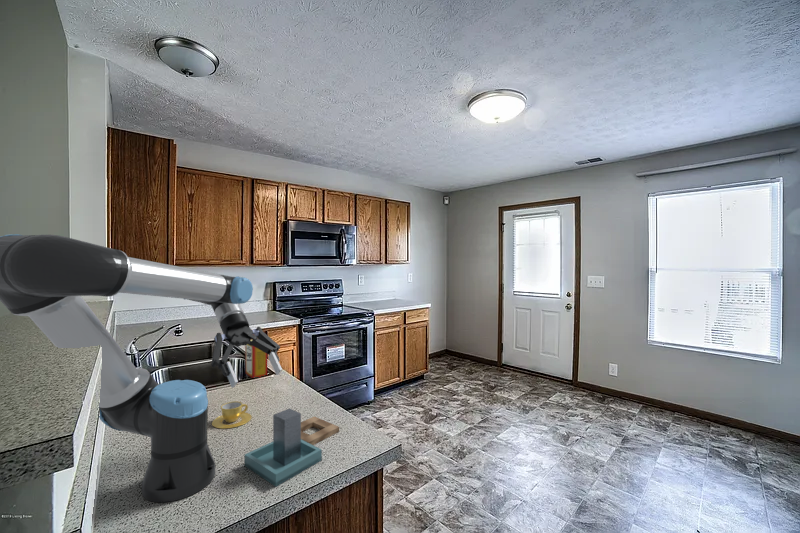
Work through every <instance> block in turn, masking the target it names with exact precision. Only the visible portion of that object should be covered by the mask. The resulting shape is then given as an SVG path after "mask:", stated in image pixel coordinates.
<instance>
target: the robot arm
mask: <svg viewBox="0 0 800 533" xmlns="http://www.w3.org/2000/svg"><path fill="white" fill-rule="evenodd" d="M253 291H254V287H253V283H252V282H251V280H250V279H249V278H247V277H243V276H242V277H241V276H232V275H231V276H229V275H224V274H219V273H215V272H209V271H204V270H199V269H194V268H188V267H182V266H177V265H172V264H167V263H162V262H156V261H151V260H147V259H141V258H135V257H131V256H128V255H127V253H126V252H124V251H122V250H121V249H115V248H111V247H108V246H104V245H103V246H102V245H99V244H95V243H91V242H88V241H83V240H80V239H75V238H72V237H67V236H63V235H57V234H15V233H13V234H11V233H10V234H5V235H1V236H0V302H1V304H3V306H5V308H6V309H7V310H8V311H9V312H10V313H11V314H12V315H14V316H20V317H29V319H30V320H31V322H33V323H34V324H35V326H36V327H38V329H39V330H40V331H41V333H43V335H44V336H45V337H47V339H48V340H49V341H50V342H51V343H52V344H53V345H54V347H55V348H56V347H58V348H81V347H90V346H98V345H101V347H102V370H101V389H100V403H99V407H98V408H100V416H98V418H99V420H100V421H101V422H102V423H103V424H104V425H105V426H107V427H109V428H111V429H113V430H115V431H121V432H128V433H132V434H135V435H139V436H144V437H148V438H150V458H149V461H148V465H147V468H146V469H145V470H146V471H145V474H144V475H143V479H142V482H141V495H142V497H143V498H144V499H145V500H147V501H148V502H149V501H150V502H153V503H169V502H174V501H178V500H181V499H185V498H187V497H190V496H193V495H194V494H196V493H198V492H200V491H201V490H203V489H204V488H207V486H208V485H209V484H211V482H213V480H214V479H215V476H216V462H215V459H214V457H213V454H212V451H211V450H210V447H209V444H208V422H209V421H208V417H209V414H208V413H209V412H208V411H209V410H208V409H209V408H208V407H209V400H208V399H209V398H208V392H207V391H208V390H207V389H206V386H205V385H203V384H202V383H201V382H198V381H195V380H191V379H184V380H181V379H175V380H169V381H168V380H167V381H165V382H162V383H158V382H157V380H156V379H155V378H154V377H153V375H152V374H151V373H150V372H149V371H148V369H146V368H142V367H138V368H137V367H136V366H135V365H134V363H133V362H132V360H131V359H130V358H129V357H128V355H127V354H126V353H125V351H124V350H123V349H122V348H121V346H120V344H119V343H117V341H116V340H115V338H114V337H113V336H112V334H111V333H110V332H109V330H108V329H107V328H106V327H105V325H104V324H103V323H102V321H101V320H100V319H99V317H98V316H97V315H96V314H95V312H94V311H93V309H91V307H90V306H89V305H88V303H87V302H86V301H85V299H84V298H83V297H87V296H89V297H90V296H91V297H92V296H93V297H105V298H106V297H113V296H116V295H118V294H119V293H120V294H128V295H129V294H130V295H139V296H140V295H142V296H151V297H160V298H161V297H162V298H173V299H182V300H188V301H191V302H197V303H201V304H204V305H208V306H211V308H212V310H213V313H214V315H215V318H216V319H217V322H218V323H219V327H220V329H221V331H222V332H217V333H216V334H215V336H214V338H213V341H214V349H213V354H212V359H211V363H210V365H211V367H212V368H216V367H217V368H218V370H220V371H221V373H222V375H223V376H224V377H226V378H227V380H228V382H229V384H230V385H229V386H230V387H231V388H235V387H236V385H237V384H238V383H239V381H238V378H237V376H236V373H235V371H234V368H233V366H232V363H231V362H230V361H227V360H228V358H229V357H230V354H231V352H232V350H233V348H234V347H237V348H238V347H241V346H245V345H247V344H248V345H250V346H254V347H256V348H258V349H260V350H261V351H263V352H265V353H267V359H268V360H269V362H270V364H271V367H272V369H273V371H274V373H275V375H276V376H278V375H280V373H281V372H282V371H283V368H282V366H281V364H280V360H281V359H280V357H279V355H278V352H279V351H280V348H281V346H280V345H279V344H278V343H277V342H276V341H274V340H273V339H272V338H271V336H269V335H267V334H266V332H264V331H263V329H262V328H261V326H257V327H256V328H254V329H252V328H251V327H250V325H249V324H250V323H249V321H248V318H247V316H246V315H245V313H244V309H243V308H242V306H241V304H243V305H244V304H245V303H248V302H249V301H250V300H251V298H252V296H253ZM222 333H223V334H222ZM252 339H253V340H252ZM224 340H225V341H226V342H228V343H229V344H228V345H227V348H226V349H225V351H224V354H223V356H222V357H221V356H220V355H221V351H222V345H223V342H224ZM250 340H252V341H250ZM220 357H221V358H220Z"/></svg>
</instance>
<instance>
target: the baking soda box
mask: <svg viewBox="0 0 800 533" xmlns="http://www.w3.org/2000/svg"><path fill="white" fill-rule="evenodd" d="M252 340H253V339H251V340H250V341H252ZM244 346H245V347H244V349H245V350H244V351H245V353H244V355H245V356H244V358H245V359H244V360H245V362H244V363H245V364H244V366H245V375H247V376H248V377H249V378H251V379H252V378H254V377H259V378H262V377H261V376H264V375H267V376H268V354H267V353H265V352H263V351H261V350H260V349H258V348H256V347H254V346H250V345H248V344H247V345H244ZM264 377H265V376H264Z"/></svg>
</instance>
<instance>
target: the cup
mask: <svg viewBox="0 0 800 533" xmlns="http://www.w3.org/2000/svg"><path fill="white" fill-rule="evenodd" d="M243 407H245V408H244V409H243ZM248 409H249V408H248V404H246V403H243V402H241V401H229V402H225V403H223V404H222V405H220V412H221V415H219V416H218V417H216V418H215V419H213V420H212V422H211V425H212V426H213V428H217V429H223V430H224V429H225V430H226V429H232V428H233V429H234V428H236V427H240V426H243V425H245V424H247V423H249V422H250V421H251V419H252V418H253V417H252V414H250V413H249V412H247V411H248ZM239 418H241V420H239ZM238 420H239V421H238ZM224 421H225V422H226V423H230V424H226V423H223V422H224ZM236 421H238V422H236ZM234 422H236V423H234ZM232 423H233V424H232Z"/></svg>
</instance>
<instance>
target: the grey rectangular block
mask: <svg viewBox="0 0 800 533" xmlns="http://www.w3.org/2000/svg"><path fill="white" fill-rule="evenodd" d="M272 415H273V416H272V417H273V418H272V419H273V423H272V426H273V427H272V428H273V430H272V432H273V433H272V434H273V435H272V436H273V437H272V438H273V440H272V442H273V460H275V461H277V462H278V463H280V464H282V465H283V466H286V465H288V464H290V463H292V462H294V461H295V460H297V459H299V458H301V422H302V414H301V413H300V412H298V411H297V410H294V409H292V408H287V409H285V410H282V411H280V412H277V413H274V414H272Z"/></svg>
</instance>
